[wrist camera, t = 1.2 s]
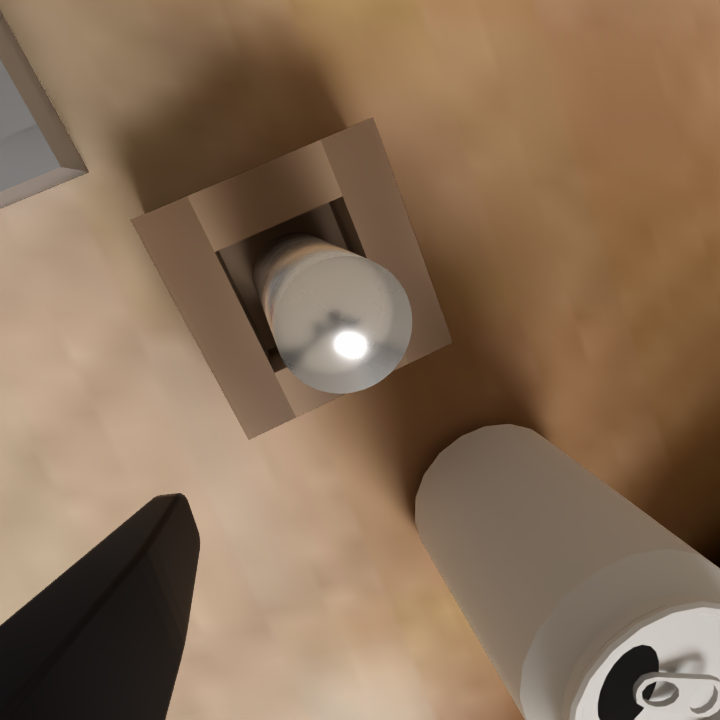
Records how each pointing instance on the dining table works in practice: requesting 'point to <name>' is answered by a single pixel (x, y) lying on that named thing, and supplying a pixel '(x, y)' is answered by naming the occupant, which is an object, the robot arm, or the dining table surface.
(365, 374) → the pin
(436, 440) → the dining table surface
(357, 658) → the dining table surface
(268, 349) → the socket block
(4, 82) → the tray
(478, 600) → the can
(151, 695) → the robot arm
